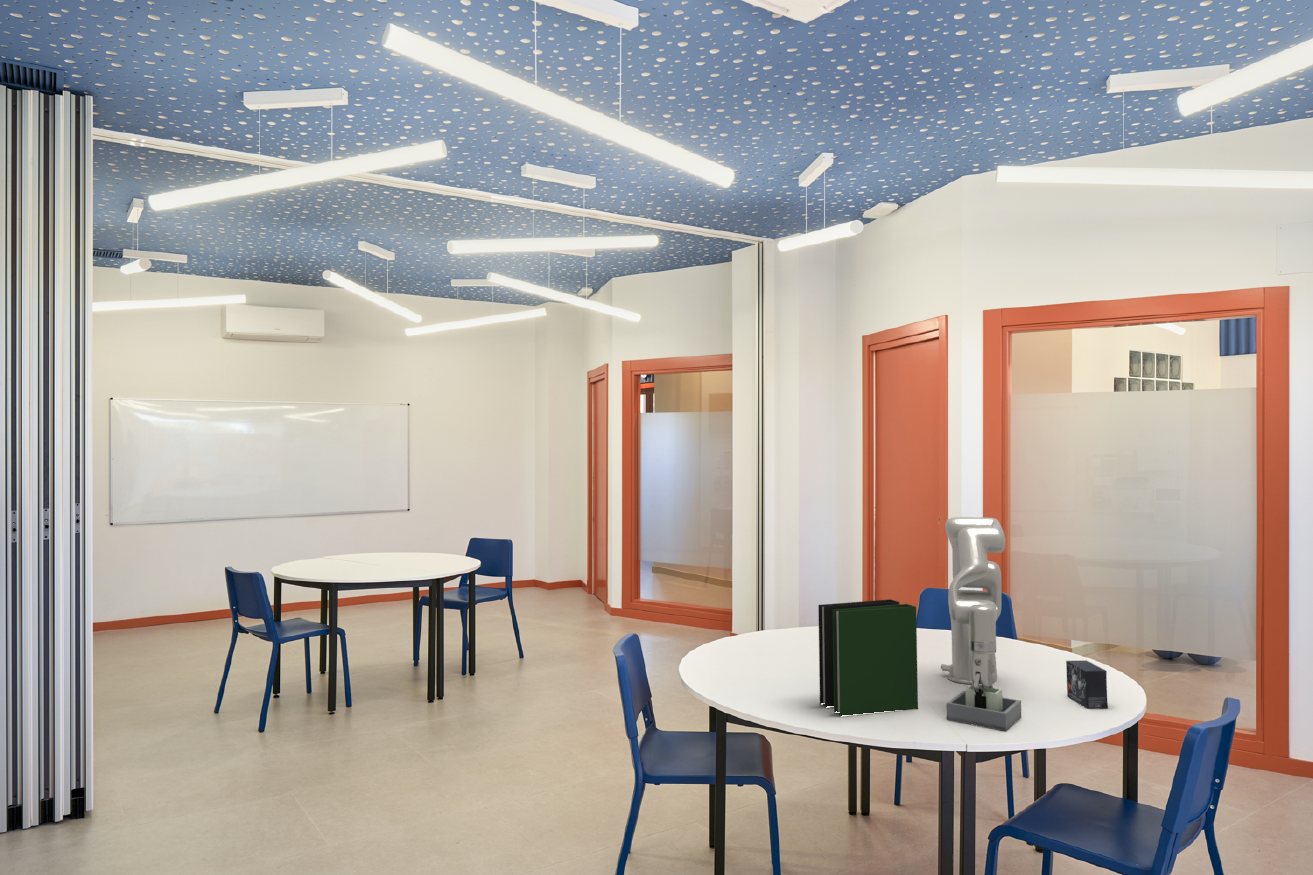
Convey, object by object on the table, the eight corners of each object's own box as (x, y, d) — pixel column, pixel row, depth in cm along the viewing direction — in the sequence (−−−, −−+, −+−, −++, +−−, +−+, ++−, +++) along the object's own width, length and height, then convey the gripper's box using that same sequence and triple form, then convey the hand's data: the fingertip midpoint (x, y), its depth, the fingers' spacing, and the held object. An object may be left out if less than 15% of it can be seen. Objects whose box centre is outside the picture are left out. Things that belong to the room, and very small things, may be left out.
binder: (841, 717, 244) (839, 612, 245) (817, 703, 258) (816, 604, 259) (918, 708, 252) (916, 606, 253) (890, 695, 266) (889, 598, 267)
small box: (1066, 696, 263) (1065, 659, 264) (1087, 696, 263) (1086, 659, 264) (1086, 709, 250) (1085, 670, 251) (1108, 709, 250) (1107, 670, 250)
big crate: (946, 719, 241) (946, 702, 241) (964, 706, 254) (964, 690, 254) (1006, 731, 230) (1005, 713, 231) (1021, 717, 243) (1021, 700, 243)
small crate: (965, 708, 243) (965, 688, 243) (972, 703, 247) (971, 684, 247) (996, 714, 237) (996, 693, 237) (1002, 709, 242) (1002, 689, 242)
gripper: (986, 653, 234) (988, 715, 233) (1004, 642, 247) (1005, 701, 246) (960, 649, 238) (961, 710, 238) (978, 639, 252) (980, 697, 251)
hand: (984, 705), depth 242 cm, fingers closed on small crate, 6 cm apart
